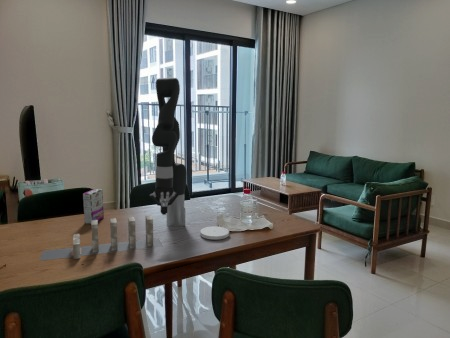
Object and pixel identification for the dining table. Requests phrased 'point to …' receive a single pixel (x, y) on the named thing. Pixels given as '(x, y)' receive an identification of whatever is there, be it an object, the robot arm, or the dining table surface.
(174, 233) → the dining table surface
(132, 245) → the ivory domino
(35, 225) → the dining table surface
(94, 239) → the ivory domino
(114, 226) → the ivory domino
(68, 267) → the dining table surface
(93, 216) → the candy bar box
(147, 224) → the ivory domino
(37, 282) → the dining table surface
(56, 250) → the domino board
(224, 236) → the plastic lid
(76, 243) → the domino
